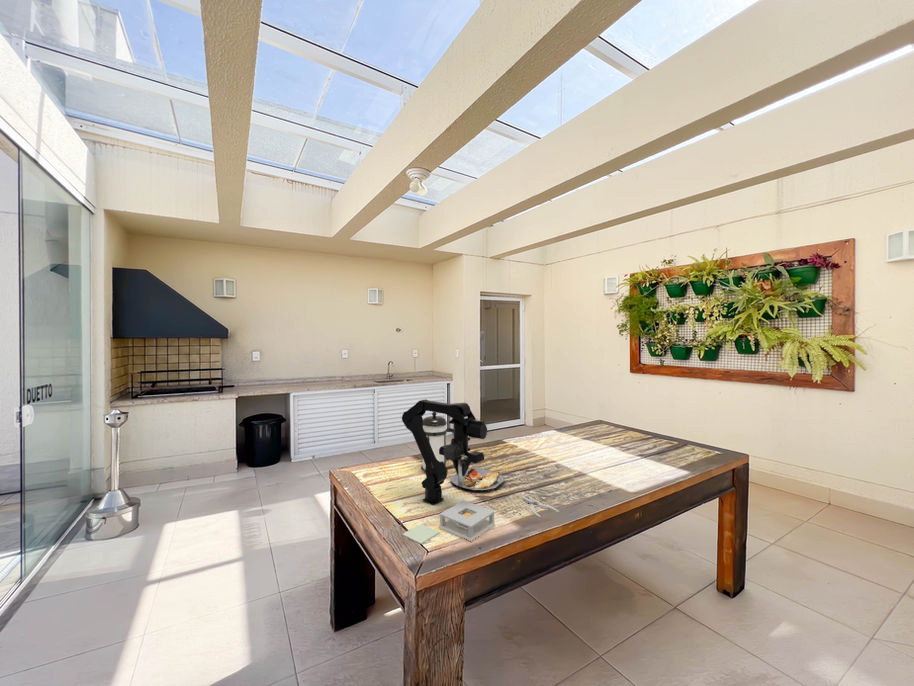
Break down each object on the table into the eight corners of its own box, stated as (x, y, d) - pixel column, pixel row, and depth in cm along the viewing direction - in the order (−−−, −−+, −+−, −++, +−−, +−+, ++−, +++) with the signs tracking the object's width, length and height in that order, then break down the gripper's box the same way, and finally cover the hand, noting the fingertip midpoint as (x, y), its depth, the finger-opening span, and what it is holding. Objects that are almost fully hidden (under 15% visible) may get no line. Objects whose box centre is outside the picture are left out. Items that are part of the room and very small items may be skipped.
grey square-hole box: (439, 527, 129) (439, 513, 129) (464, 513, 139) (464, 500, 139) (471, 541, 120) (471, 526, 120) (494, 525, 131) (494, 511, 131)
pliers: (539, 514, 136) (515, 498, 150) (539, 518, 136) (515, 502, 150) (559, 508, 141) (535, 494, 154) (559, 513, 141) (535, 498, 154)
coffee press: (440, 478, 175) (440, 416, 175) (413, 472, 183) (413, 412, 183) (458, 468, 190) (458, 410, 190) (432, 463, 198) (432, 407, 198)
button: (461, 519, 129) (461, 515, 129) (466, 516, 132) (466, 512, 132) (467, 522, 128) (467, 518, 128) (472, 519, 130) (472, 515, 130)
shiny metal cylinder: (456, 485, 144) (456, 460, 144) (460, 483, 146) (460, 458, 146) (461, 487, 142) (461, 461, 142) (465, 485, 144) (465, 459, 144)
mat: (402, 535, 124) (402, 533, 124) (421, 524, 131) (421, 523, 131) (421, 544, 118) (421, 543, 118) (439, 533, 125) (439, 532, 125)
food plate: (469, 469, 188) (469, 462, 188) (511, 478, 176) (511, 471, 176) (442, 487, 166) (442, 479, 166) (488, 499, 154) (488, 491, 154)
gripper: (429, 435, 143) (429, 475, 143) (467, 444, 132) (467, 487, 132) (447, 430, 152) (448, 468, 152) (484, 437, 140) (485, 478, 140)
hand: (461, 475), depth 144 cm, fingers closed on shiny metal cylinder, 2 cm apart
